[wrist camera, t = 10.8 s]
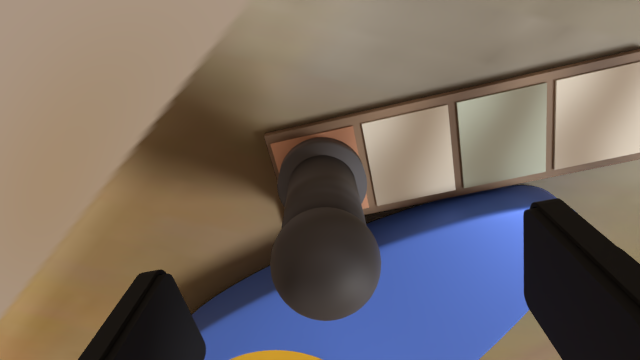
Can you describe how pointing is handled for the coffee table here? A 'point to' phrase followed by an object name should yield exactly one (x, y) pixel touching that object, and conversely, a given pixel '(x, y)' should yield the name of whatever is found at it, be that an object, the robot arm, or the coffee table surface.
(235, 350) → the location marker
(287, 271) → the pawn
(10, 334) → the coffee table surface
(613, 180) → the coffee table surface
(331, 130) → the board
